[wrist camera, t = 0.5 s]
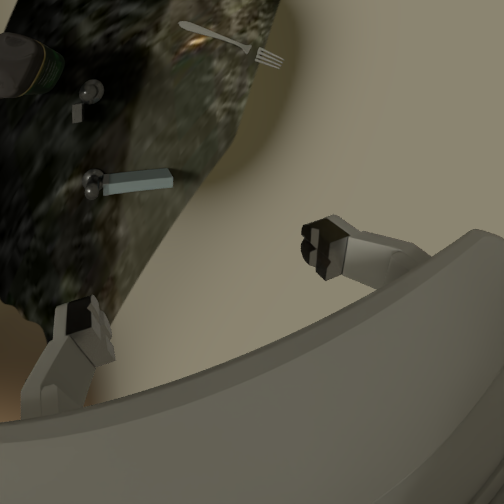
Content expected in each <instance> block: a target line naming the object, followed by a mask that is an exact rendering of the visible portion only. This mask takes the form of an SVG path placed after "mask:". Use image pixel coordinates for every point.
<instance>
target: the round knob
mask: <svg viewBox="0 0 504 504" xmlns="http://www.w3.org/2000/svg"><path fill="white" fill-rule="evenodd" d="M103 177H104V173H103V172H102V171H101V170H99V169H90V170H88V171H87V172H86V173H85V174H84V177H83V186H84V188H85V196H86V198H87V199H89V200H93V199H95V198H97V196H98V193H99V190H101V189H102V188H103Z"/></svg>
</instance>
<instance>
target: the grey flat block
mask: <svg viewBox="0 0 504 504" xmlns="http://www.w3.org/2000/svg"><path fill="white" fill-rule="evenodd" d="M170 187H173V176H172V175H171V173H170V172H169V170H168V168H164V169H152V170H142V171H132V172H123V173H115V174H104V177H103V193H104V196H106V195H110V194H116V193H124V192H132V191H141V190H150V189H160V188H170Z"/></svg>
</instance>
